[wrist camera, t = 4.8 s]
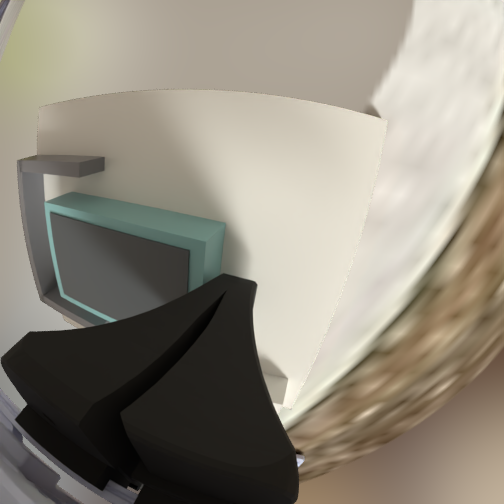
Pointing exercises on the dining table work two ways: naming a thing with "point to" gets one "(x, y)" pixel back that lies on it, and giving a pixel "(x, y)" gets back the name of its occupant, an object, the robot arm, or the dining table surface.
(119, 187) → the board
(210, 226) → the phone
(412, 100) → the dining table surface
